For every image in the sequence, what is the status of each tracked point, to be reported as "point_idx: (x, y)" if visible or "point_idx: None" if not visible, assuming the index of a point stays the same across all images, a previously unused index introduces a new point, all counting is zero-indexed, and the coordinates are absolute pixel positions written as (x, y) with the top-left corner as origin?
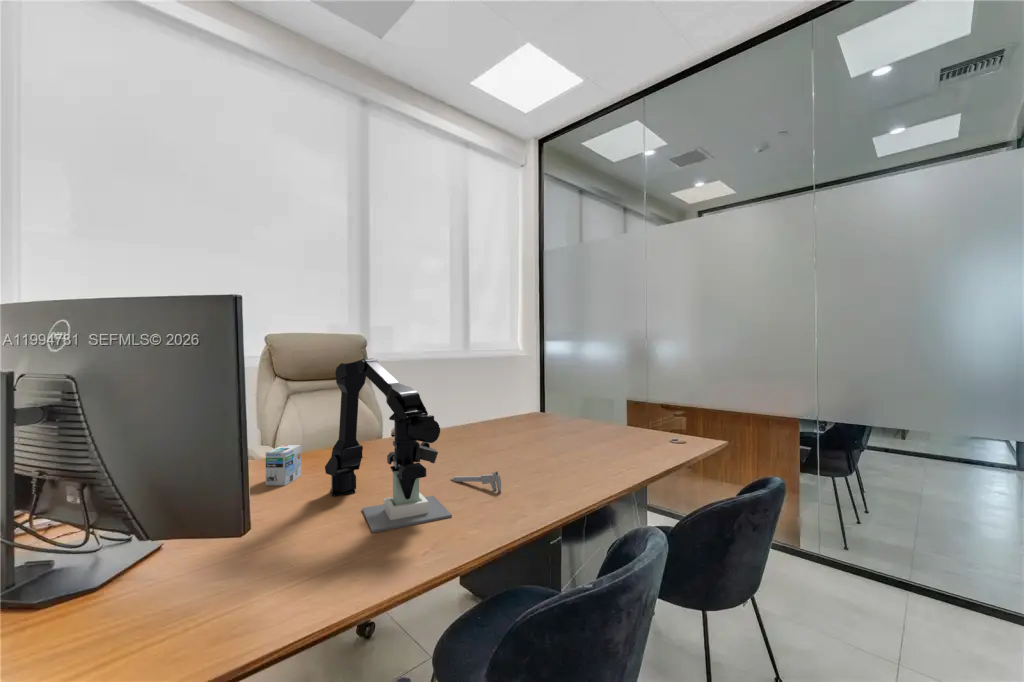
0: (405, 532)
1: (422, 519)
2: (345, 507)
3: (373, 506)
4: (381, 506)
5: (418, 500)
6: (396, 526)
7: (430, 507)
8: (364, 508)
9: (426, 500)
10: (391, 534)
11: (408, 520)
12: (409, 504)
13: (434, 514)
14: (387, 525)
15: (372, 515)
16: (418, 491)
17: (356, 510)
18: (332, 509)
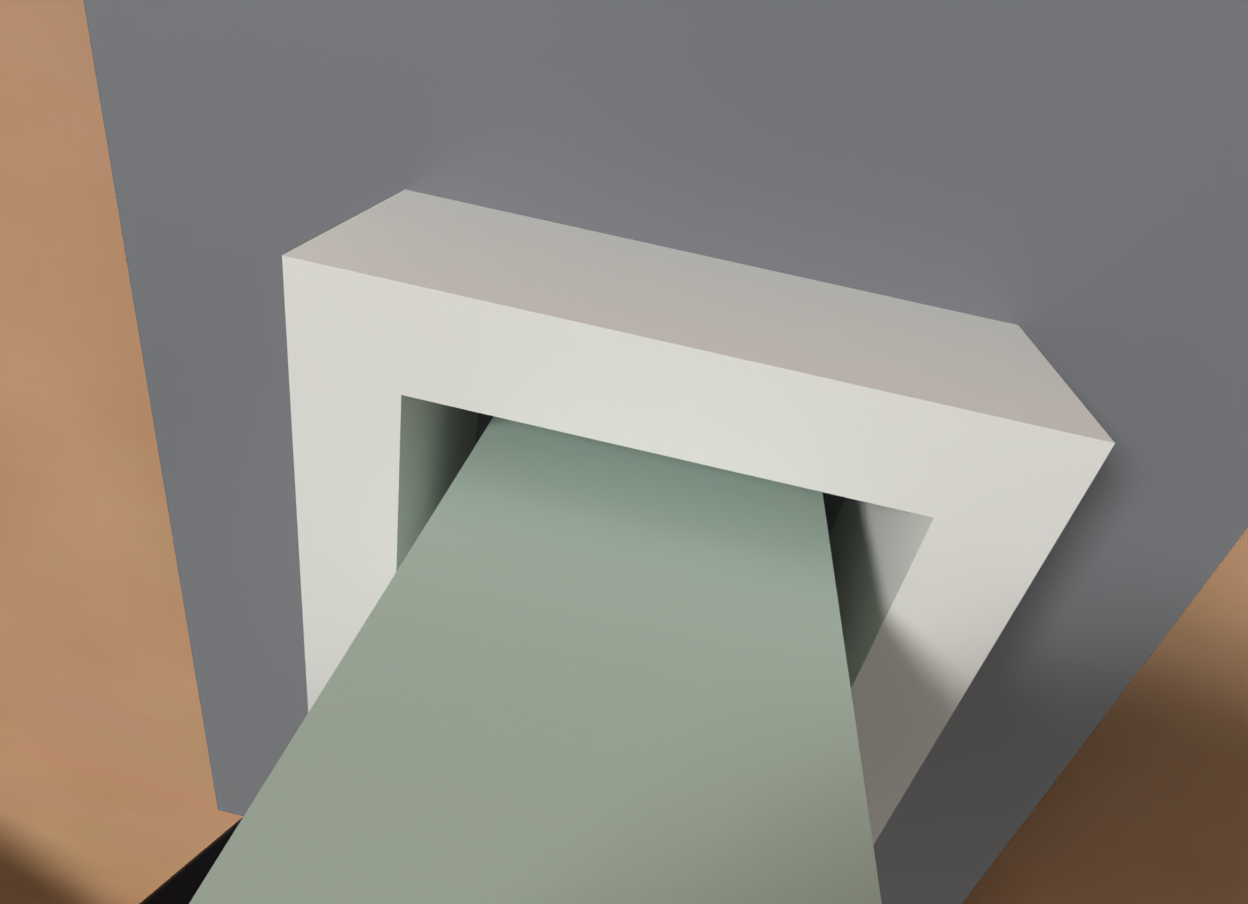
0: (1220, 801)
1: (1176, 546)
2: (88, 832)
3: (221, 731)
4: (261, 679)
5: (825, 567)
6: (1012, 826)
7: (788, 134)
8: (245, 804)
9: (992, 436)
10: (1104, 890)
11: (1001, 689)
12: (888, 771)
13: (1212, 272)
14: (911, 876)
15: None
16: (850, 755)
17: (213, 813)
18: (104, 898)
